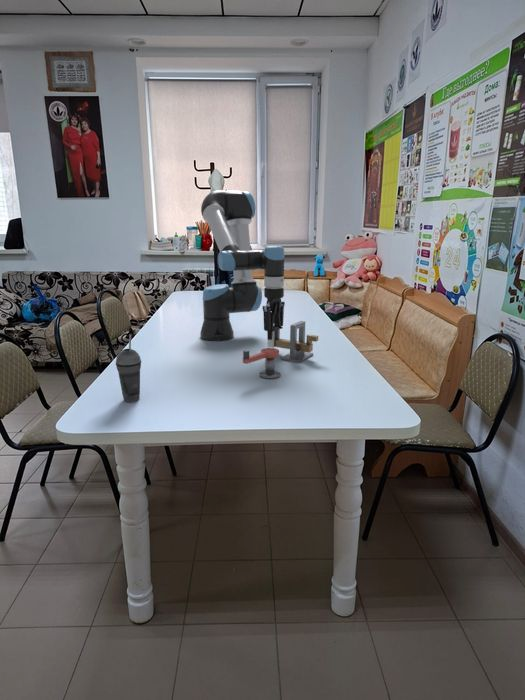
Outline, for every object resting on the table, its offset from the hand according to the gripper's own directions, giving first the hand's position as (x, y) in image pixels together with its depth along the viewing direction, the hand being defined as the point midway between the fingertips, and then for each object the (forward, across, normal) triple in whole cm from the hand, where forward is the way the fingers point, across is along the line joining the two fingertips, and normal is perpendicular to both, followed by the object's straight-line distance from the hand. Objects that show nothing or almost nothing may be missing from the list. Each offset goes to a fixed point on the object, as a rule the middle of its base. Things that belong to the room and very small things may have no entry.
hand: (273, 345), depth 179 cm
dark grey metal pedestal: (+3, -24, -13) cm, 27 cm away
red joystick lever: (-4, -29, -12) cm, 31 cm away
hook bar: (0, 0, -9) cm, 9 cm away
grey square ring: (+3, 0, -11) cm, 11 cm away
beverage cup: (+3, -64, +11) cm, 65 cm away
